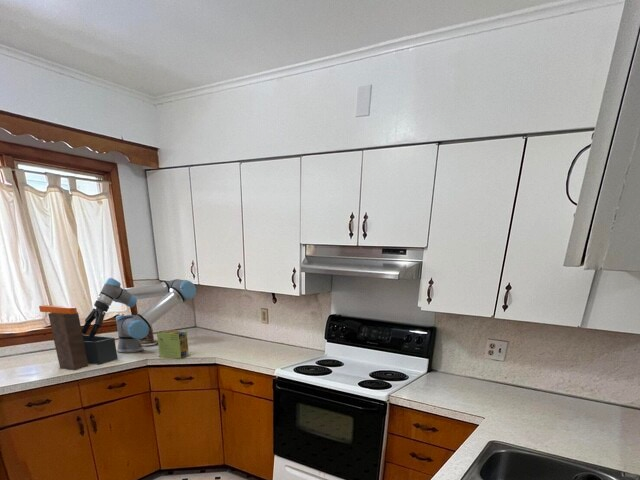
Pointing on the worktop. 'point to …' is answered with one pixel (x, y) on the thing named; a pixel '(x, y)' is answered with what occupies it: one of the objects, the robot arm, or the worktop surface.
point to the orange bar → (58, 309)
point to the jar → (148, 337)
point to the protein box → (172, 344)
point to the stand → (68, 340)
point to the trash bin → (99, 349)
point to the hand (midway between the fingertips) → (86, 335)
